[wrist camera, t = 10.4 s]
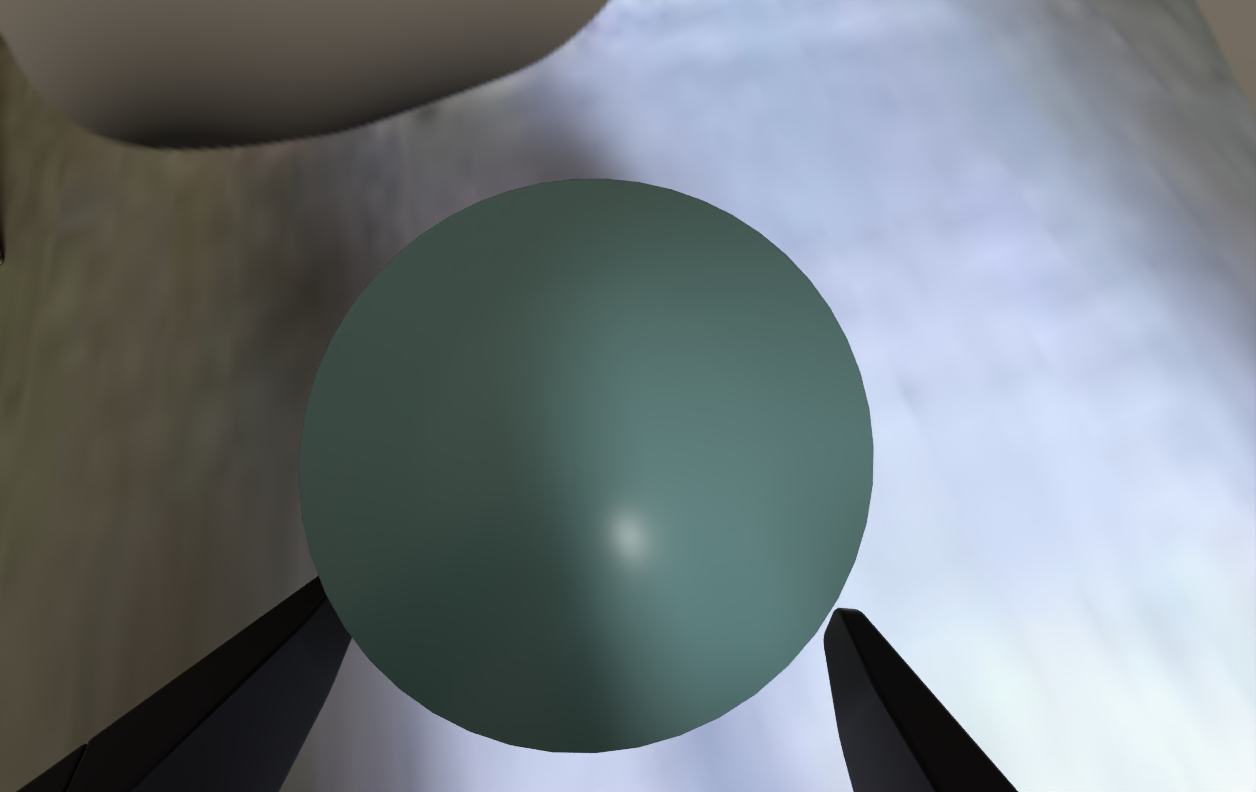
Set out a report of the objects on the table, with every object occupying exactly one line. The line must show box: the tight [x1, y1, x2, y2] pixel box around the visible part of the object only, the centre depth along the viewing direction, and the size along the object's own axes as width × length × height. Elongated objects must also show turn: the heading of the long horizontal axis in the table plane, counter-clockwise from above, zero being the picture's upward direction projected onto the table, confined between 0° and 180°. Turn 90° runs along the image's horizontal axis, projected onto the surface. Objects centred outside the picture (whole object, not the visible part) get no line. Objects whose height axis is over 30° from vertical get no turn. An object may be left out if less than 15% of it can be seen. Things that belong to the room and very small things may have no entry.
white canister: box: [299, 179, 873, 753], centre depth 12 cm, size 8×8×12 cm
